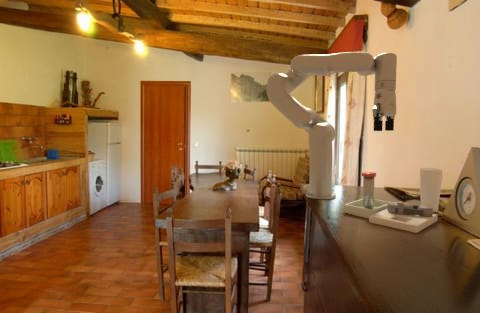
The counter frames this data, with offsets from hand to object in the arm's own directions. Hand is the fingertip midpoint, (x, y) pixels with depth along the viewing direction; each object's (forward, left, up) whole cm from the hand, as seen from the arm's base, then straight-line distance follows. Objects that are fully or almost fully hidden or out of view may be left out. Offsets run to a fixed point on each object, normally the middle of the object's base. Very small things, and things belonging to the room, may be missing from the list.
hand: (383, 130), depth 125 cm
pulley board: (+17, -21, -28) cm, 39 cm away
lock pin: (+4, -18, -28) cm, 33 cm away
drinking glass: (+18, -2, -28) cm, 34 cm away
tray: (+4, -18, -28) cm, 34 cm away
